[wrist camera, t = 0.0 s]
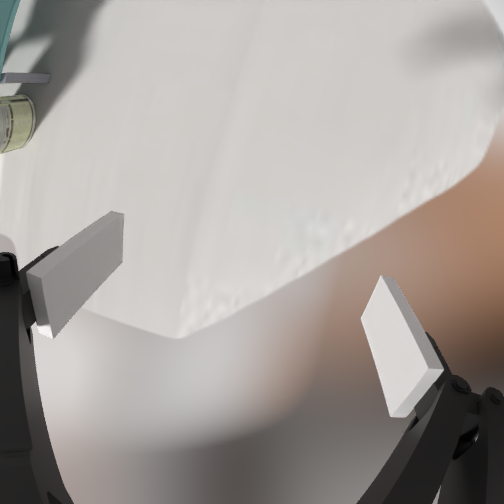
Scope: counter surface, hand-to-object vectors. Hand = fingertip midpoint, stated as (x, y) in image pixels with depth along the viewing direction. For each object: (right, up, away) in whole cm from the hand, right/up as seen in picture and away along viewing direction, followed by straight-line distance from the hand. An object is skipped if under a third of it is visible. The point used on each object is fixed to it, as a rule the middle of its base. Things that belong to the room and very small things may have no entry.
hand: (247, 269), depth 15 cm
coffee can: (-41, +24, +24) cm, 53 cm away
